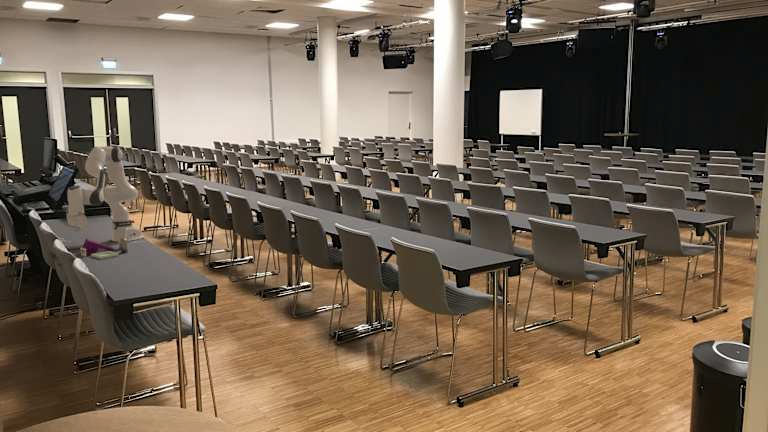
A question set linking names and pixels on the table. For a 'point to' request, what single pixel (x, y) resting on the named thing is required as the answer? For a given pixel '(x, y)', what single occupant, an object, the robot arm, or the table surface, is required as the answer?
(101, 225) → the table surface
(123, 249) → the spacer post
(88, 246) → the mounting bracket
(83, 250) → the label tile
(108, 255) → the parts tray
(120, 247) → the gold metallic cylinder
